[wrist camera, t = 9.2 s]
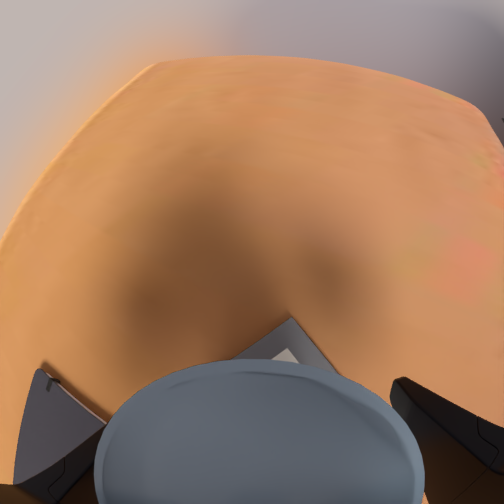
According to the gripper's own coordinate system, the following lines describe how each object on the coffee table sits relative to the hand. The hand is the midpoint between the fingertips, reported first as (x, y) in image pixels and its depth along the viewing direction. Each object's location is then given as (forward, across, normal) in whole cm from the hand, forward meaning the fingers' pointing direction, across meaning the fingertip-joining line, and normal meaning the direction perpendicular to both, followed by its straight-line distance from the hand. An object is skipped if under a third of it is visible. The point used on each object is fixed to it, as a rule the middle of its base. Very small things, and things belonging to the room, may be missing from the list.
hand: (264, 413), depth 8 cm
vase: (+5, 0, +7) cm, 8 cm away
